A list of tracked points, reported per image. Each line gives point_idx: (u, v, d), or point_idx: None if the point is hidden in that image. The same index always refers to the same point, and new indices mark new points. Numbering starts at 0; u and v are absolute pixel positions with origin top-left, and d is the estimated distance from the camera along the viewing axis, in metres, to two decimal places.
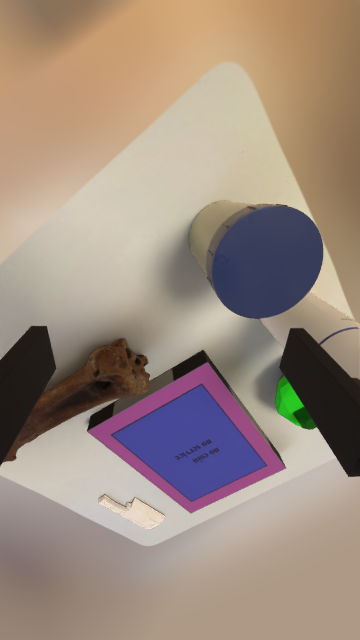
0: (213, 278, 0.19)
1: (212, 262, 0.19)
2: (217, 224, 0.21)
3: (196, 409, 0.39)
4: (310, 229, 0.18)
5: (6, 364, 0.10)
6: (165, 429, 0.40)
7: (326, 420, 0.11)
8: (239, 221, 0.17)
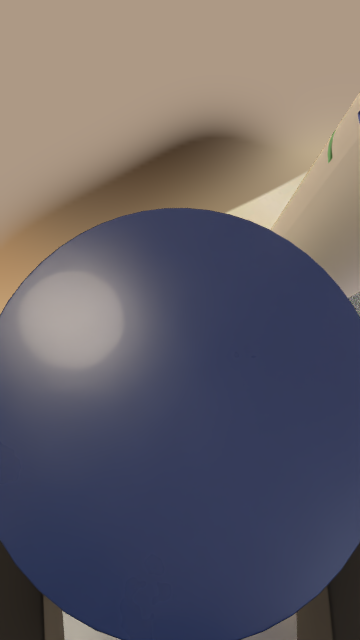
0: (228, 637, 0.04)
1: (156, 638, 0.04)
2: None
3: None
4: (78, 253, 0.06)
5: None
6: None
7: None
8: None
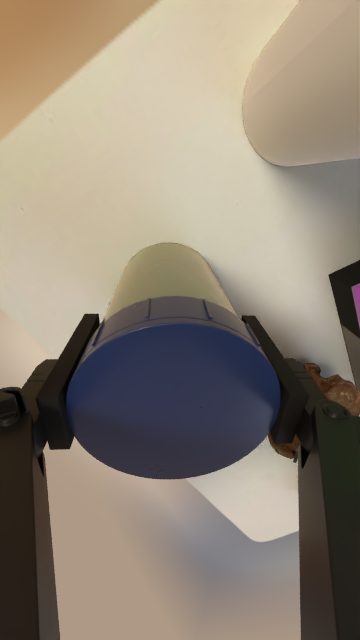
0: (183, 477, 0.12)
1: None
2: None
3: None
4: (104, 358, 0.09)
5: (75, 344, 0.12)
6: None
7: None
8: (95, 457, 0.11)
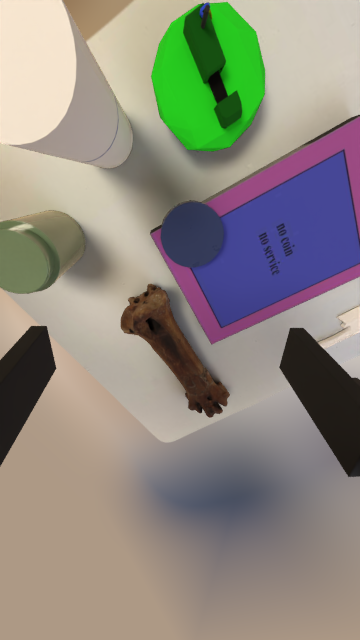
0: (222, 239, 0.35)
1: (220, 247, 0.35)
2: None
3: None
4: (168, 251, 0.35)
5: (6, 364, 0.10)
6: (229, 281, 0.40)
7: (327, 420, 0.11)
8: (203, 264, 0.36)
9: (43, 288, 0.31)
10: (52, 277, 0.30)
